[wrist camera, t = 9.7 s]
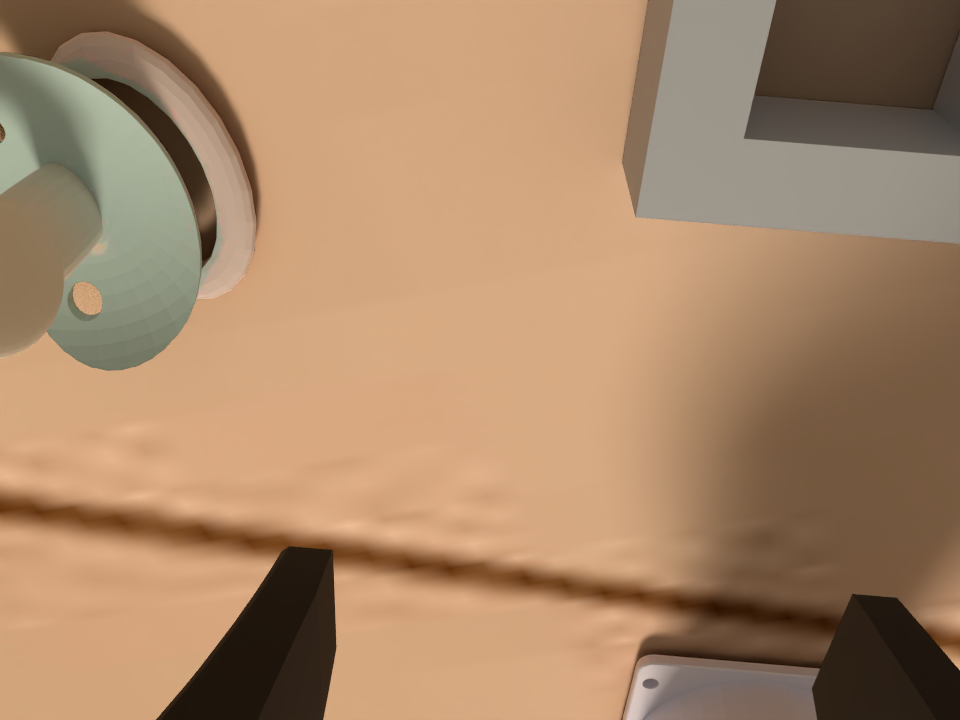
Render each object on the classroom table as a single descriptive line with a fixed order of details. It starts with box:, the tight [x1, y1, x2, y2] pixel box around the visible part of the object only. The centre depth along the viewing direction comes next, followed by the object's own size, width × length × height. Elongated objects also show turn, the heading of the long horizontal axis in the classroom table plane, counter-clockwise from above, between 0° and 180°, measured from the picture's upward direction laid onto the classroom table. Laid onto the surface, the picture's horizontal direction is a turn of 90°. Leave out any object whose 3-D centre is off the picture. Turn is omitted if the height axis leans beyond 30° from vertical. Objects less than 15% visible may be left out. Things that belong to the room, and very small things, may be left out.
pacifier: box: [0, 31, 256, 371], centre depth 18 cm, size 7×6×6 cm
